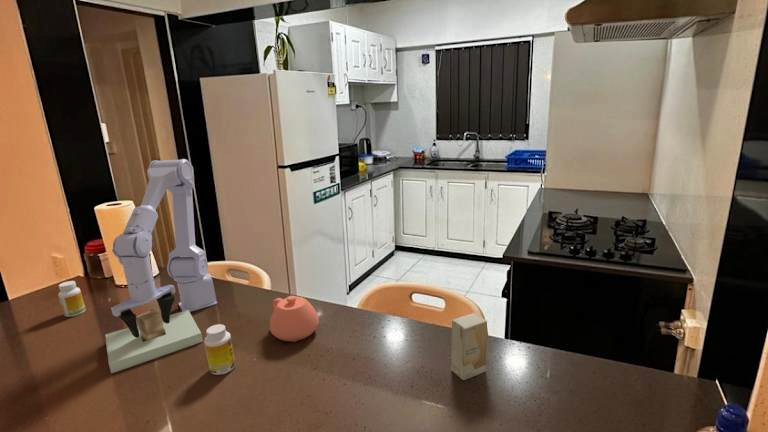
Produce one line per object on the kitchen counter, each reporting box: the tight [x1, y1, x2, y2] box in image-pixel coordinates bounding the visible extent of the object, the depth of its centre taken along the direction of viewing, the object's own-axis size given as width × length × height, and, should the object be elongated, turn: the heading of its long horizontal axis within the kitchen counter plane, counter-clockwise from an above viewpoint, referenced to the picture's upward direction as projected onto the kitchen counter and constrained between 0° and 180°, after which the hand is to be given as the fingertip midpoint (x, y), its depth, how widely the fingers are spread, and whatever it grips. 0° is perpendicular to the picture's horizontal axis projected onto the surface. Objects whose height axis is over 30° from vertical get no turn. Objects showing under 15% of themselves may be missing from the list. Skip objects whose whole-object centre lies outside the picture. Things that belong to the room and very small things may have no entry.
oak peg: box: [136, 309, 165, 342], centre depth 106 cm, size 4×4×8 cm
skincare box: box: [450, 312, 488, 381], centre depth 88 cm, size 6×4×12 cm
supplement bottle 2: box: [203, 323, 236, 376], centre depth 94 cm, size 6×6×10 cm
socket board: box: [104, 310, 204, 374], centre depth 107 cm, size 20×16×2 cm
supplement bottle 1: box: [58, 280, 87, 318], centre depth 124 cm, size 5×5×10 cm
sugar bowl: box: [269, 295, 320, 343], centre depth 107 cm, size 12×14×10 cm
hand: (151, 328), depth 106 cm, fingers open, 7 cm apart
